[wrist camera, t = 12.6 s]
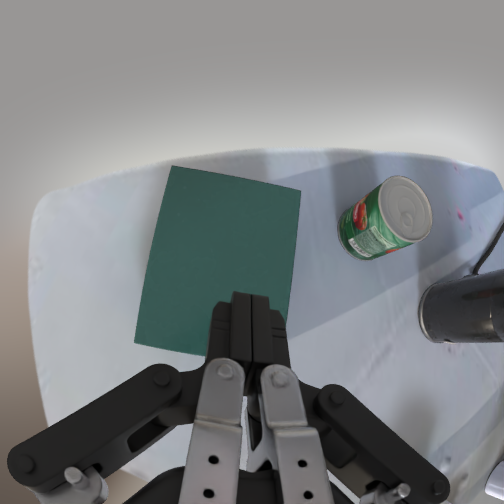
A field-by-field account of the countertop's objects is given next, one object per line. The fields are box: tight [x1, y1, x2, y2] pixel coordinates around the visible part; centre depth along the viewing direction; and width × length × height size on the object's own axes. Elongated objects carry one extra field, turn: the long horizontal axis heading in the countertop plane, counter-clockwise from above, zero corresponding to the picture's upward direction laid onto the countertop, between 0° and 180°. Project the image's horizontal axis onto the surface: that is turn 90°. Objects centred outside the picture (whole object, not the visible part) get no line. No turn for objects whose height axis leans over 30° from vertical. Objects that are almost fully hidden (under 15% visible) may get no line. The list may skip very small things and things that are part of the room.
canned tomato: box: [338, 176, 433, 261], centre depth 36 cm, size 8×8×11 cm
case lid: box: [134, 166, 301, 356], centre depth 27 cm, size 16×13×1 cm
